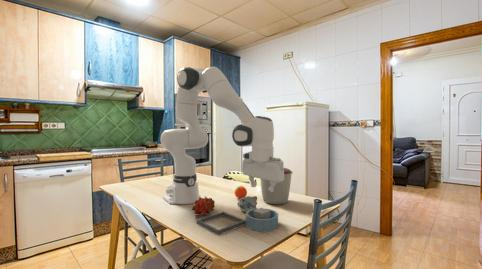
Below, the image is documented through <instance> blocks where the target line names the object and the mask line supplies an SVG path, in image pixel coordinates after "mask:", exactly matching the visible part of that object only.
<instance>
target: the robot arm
mask: <svg viewBox="0 0 482 269" xmlns="http://www.w3.org/2000/svg"><path fill="white" fill-rule="evenodd" d="M176 79H177V80H176V81H177V84H178V87H177V92H176V98H175V100H176V101H175V118H176V119H177V120H178V121H179V122H181V123H183V124H185V128H172V129H171V128H170V129H166V130H163V132H162V133H161V135H160V140H159V142H160V145H161V146H162V147H163V148H164V149H165V150H167V151H168V153H169V154H170V155H171V156H172V159H173V165H174V174H173V175H172V178H173V179H172V182H171V183H170V184H169V185H168V186H167V188H166V190H165V192H166V194H163V195H162V198H163V199H164V200H165V202H167V203H168V204H169V205H188V204H193V203H194V204H195V201H197V200H199V198H201V195H200V194H199V193H200V192H199V184H198V182H197V180H198V179H197V178H198V175H197V172H196V170H197V167H196V166H197V165H196V164H197V163H196V160H195V158H194V157H193V156H191V155H189V154H187V153H186V150H191V149H192V150H194V149H201V148H204V147H206V145H207V144H208V142H209V134H208V133H207V131H206V130H205V129H204V128H203V127H202V126H201V125H200V122H199V119H198V104H199V103H198V102H199V101H198V100H199V99H198V98H199V94H200V93H202V94H205V93H207V94H208V96H209V98H210V99H211V101H212V102H213V103H214V104H215V105H216V106H217V107H220V108H223V109H225V110H228V111H230V112H231V113H234V114H235V115H236V116H237V117H238V119H239V121H240V122H241V123H240V124H238V125H236V126H235V127H234V128H233V130H232V133H231V137H232V140H233V143H234V144H235V145H236V146H238V147H251V151H248V152H245V153H244V152H243V153H242V158H243V160H242V165H241V166H242V167H241V169H242V170H241V172H242V174H243V176H248V180H249V182H250V187H251V188H256V187H257V182H255V181H256V180H255V179H256V178H257V179H260V180H261V179H264V180H268V181H270V184H271V186H270V187H268V191H269V192H273V191H274V186H275V185H276V183H280V182H283V180H284V168H285V167H284V166H285V165H284V161H283V160H282V159H281V158H278V157H274V149H275V148H274V146H273V145H274V144H273V142H274V138H275V133H274V132H275V128H274V122H273V119H271V118H269V117H268V116H262V115H261V116H260V115H258V116H257V115H256V116H254V114H253V113H252V112H251V110H250V109H249V107H248V105H247V104H245V102H244V100H242V98H241V97H240V96H239V95H238V93H237V92H236V91H235V89H234V88H233V86H232V84H231V83H230V82H229V80H228V78H227V76H226V75H225V74H224V73H223V72H222V70H220V69H219V68H218V67H216V66H210V67H207V68H206V69H205V68H200V67H199V68H198V67H197V68H196V67H189V66H188V67H187V66H186V67H182V68H180V70H179V71H178V72H177V76H176Z"/></svg>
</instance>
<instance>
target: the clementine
mask: <svg viewBox="0 0 482 269" xmlns="http://www.w3.org/2000/svg"><path fill="white" fill-rule="evenodd" d="M234 189H235V190H234V195H235V197H236V198H237V199H239V200H240V199H241V198H243V197H247V196H248V195H247V193H248V191H247V188H246V187H245V186H243V185H238V186H237V187H236V188H234Z"/></svg>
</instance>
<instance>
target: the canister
mask: <svg viewBox="0 0 482 269" xmlns="http://www.w3.org/2000/svg"><path fill="white" fill-rule="evenodd" d="M283 168H284V180H283V182H280V183H276V185H275V186H274V191H273V192H269V191H268V187H270V186H271V184H270V181H268V180H264V179H260V188H261V196H262V199H263V201H264V202H265V203H267V204H270V205H276V206H277V205H283V204H285V203H287V202H288V201H289V200H288V199H289V197H290V190H291V182H292V175H293V173H294V172H293V171H292V170H291V169H289V168H287V167H283Z"/></svg>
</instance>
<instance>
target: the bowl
mask: <svg viewBox="0 0 482 269" xmlns="http://www.w3.org/2000/svg"><path fill="white" fill-rule="evenodd" d="M257 209H259V208H257ZM266 209H267V210H270V219H256V218H253V210H256V209H252V210H249V211H247V212H245V220H246V224H245V225H246V227H247V228H248V229H250V230H252V231H256V232H272V231H274V230H276V229H278V227H279V213H278V212H277V211H276V210H273V209H270V208H266Z"/></svg>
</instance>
